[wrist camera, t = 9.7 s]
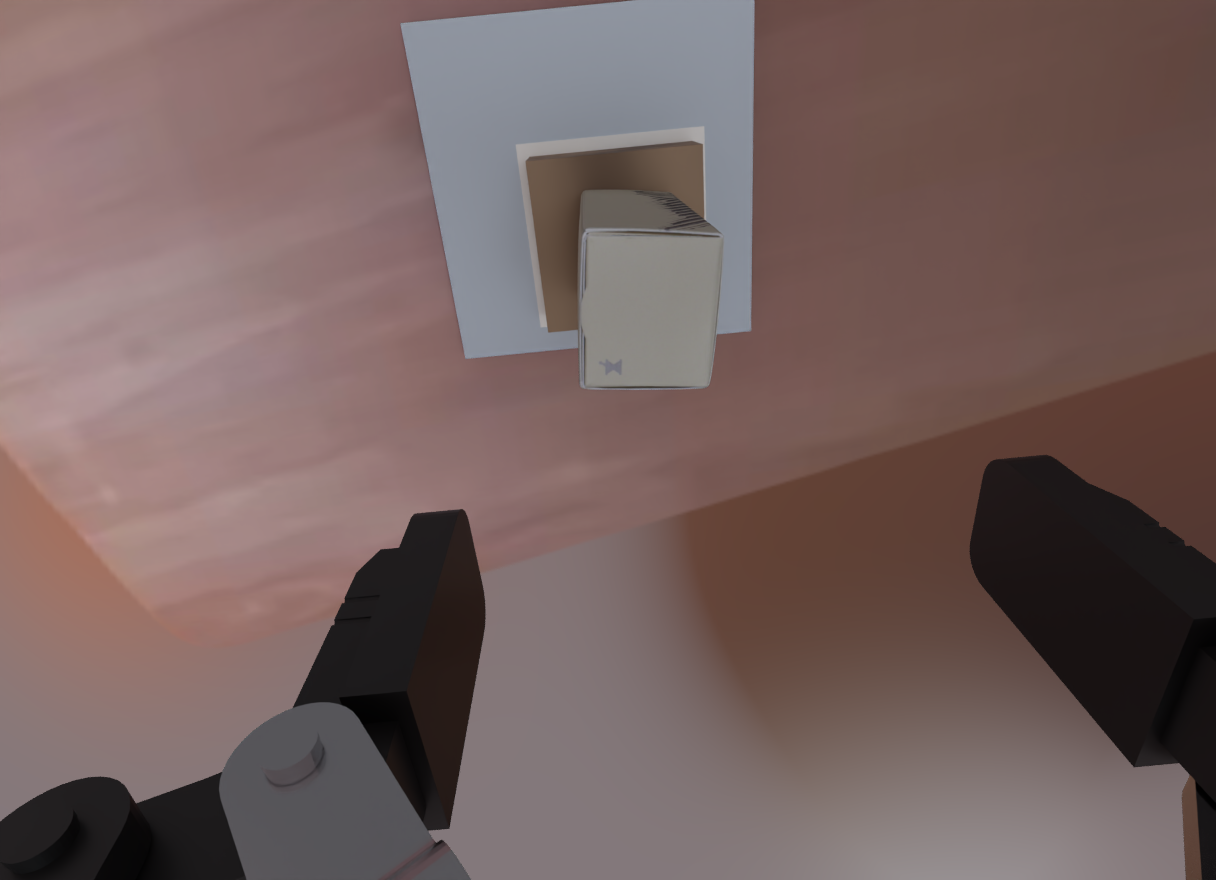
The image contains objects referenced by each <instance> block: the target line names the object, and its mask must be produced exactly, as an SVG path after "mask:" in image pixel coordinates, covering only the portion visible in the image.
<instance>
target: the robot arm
mask: <svg viewBox="0 0 1216 880" xmlns="http://www.w3.org/2000/svg"><path fill="white" fill-rule="evenodd" d="M970 559H971V564H972V568H973V570H974V573H975V575H976V577H977V579H978V581H979V583H980V584H981V585H982V587H983V588H984V589H985V590H986V591H987V593H988V594H989V595H990V596H991V597H992V598H993V600H994V601H995V602H996V603H997V604H998V606H999V607H1000V608H1001V609H1002V610H1003V612H1004V613H1005V614H1006V615H1007V616H1008V618H1009V619H1010V620H1011V621H1012V622H1013V624H1014V625H1015V626H1016V627H1017V628H1018V629H1019V631H1020V632H1021V633H1022V634H1023V635H1024V637H1025V638H1026V639H1027V640H1028V641H1029V643H1030V644H1031V645H1032V646H1033V647H1034V648H1035V650H1036V651H1037V652H1038V653H1039V654H1040V656H1041V657H1042V658H1043V659H1044V661H1046V663H1047V664H1048V665H1049V666H1050V668H1051V669H1052V670H1053V671H1054V672H1055V674H1056V675H1057V676H1058V677H1059V678H1060V680H1061V681H1062V682H1063V683H1064V684H1065V685H1066V687H1067V688H1068V689H1069V690H1070V691H1071V693H1072V694H1073V695H1074V696H1075V697H1076V699H1077V700H1078V701H1079V702H1080V703H1081V704H1082V706H1083V707H1084V708H1085V709H1086V710H1087V712H1088V713H1089V714H1090V715H1091V716H1092V718H1093V719H1094V720H1095V721H1096V723H1097V724H1098V725H1099V726H1100V727H1101V729H1102V730H1103V731H1104V732H1105V733H1106V734H1107V736H1108V737H1109V738H1110V739H1111V740H1112V742H1113V743H1114V744H1115V745H1116V746H1117V748H1118V749H1119V750H1120V751H1121V752H1122V754H1123V755H1124V756H1125V757H1126V758H1127V759H1128V761H1129V762H1130V763H1131V764H1132V765H1133V766H1134V767H1142V766H1153V765H1163V764H1173V763H1180V764H1181V765H1182V767H1183V768H1184V769H1185V770H1186V771H1187V772H1188V773H1189V774H1190V775H1189V778H1188V780H1187V782H1186V784H1185V786H1184V788H1183V791H1182V814H1183V834H1184V855H1185V873H1186V880H1216V563H1214V562H1213V561H1212V560H1210V559H1209V558H1207V557H1206V556H1205V555H1203V554H1202V553H1200V552H1199V551H1197V550H1196V549H1195V548H1194V547H1192V546H1185V544H1184V540H1182V539H1181V538H1180V537H1178V536H1177V535H1175V534H1174V533H1173V532H1171V531H1170V530H1169V529H1167V528H1166V527H1160V526H1159V522H1157V521H1156V520H1155V519H1153V518H1152V517H1150V516H1149V515H1148V514H1146V513H1145V512H1144V511H1142V510H1141V509H1139V508H1138V507H1137V506H1135V505H1134V504H1132V503H1131V502H1130V501H1128V500H1126V499H1123V498H1121V497H1119V496H1117V495H1114V494H1112V493H1110V492H1107V491H1105V490H1103V489H1100V488H1098V487H1096V486H1094V485H1091V484H1089V483H1087V482H1086V481H1085V480H1083V479H1082V478H1080V477H1079V476H1078V475H1076V474H1075V473H1074V472H1072V471H1071V470H1070V469H1068V468H1067V467H1066V466H1064V465H1063V464H1062V463H1060V462H1059V461H1058V460H1056V459H1055V458H1053V457H1051V456H1048V455H1039V456H1028V457H1018V458H1007V459H997V460H993V461H991V462H990V463H989V464H988V465H987V467H986V469H985V471H984V474H983V479H982V484H981V489H980V494H979V500H978V505H977V510H976V515H975V521H974V525H973V530H972V536H971V541H970ZM334 621H335V624H334V625H332V626H331V628H330V630H329V632H328V634H327V636H326V638H325V641H324V643H323V645H322V647H321V649H320V651H319V653H318V655H317V658H316V660H315V662H314V664H313V666H312V668H311V670H310V672H309V675H308V677H307V679H306V681H305V683H304V685H303V687H302V689H301V691H300V694H299V696H298V698H297V700H296V702H295V704H294V706H293V708H292V709H289V710H287V711H284V712H282V713H280V714H278V715H276V716H274V717H273V718H271V719H269V720H268V721H266V722H264V723H263V724H262V725H260V726H259V727H258V728H256V729H255V730H254V731H252V732H251V733H250V734H249V735H248V736H247V737H246V738H245V739H244V740H243V741H242V742H241V743H240V744H239V746H238V747H237V748H236V749H235V750H234V752H233V753H232V755H231V756H230V758H229V759H228V761H227V763H226V765H225V767H224V769H223V772H221V773H219V774H216V775H213V776H211V777H209V778H206V779H204V780H201V781H198V782H195V783H192V784H189V785H186V786H184V787H181V788H178V789H175V790H173V791H170V792H167V793H164V794H161V795H159V796H156V797H153V798H151V799H148V800H145V801H142V802H139V803H135V801H134V800H133V798H132V796H131V795H130V793H129V792H128V790H127V788H126V787H125V785H123V784H122V783H121V782H119V781H118V780H115V779H112V778H108V777H88V778H84V779H79V780H75V781H72V782H68V783H65V784H62V785H60V786H58V787H56V788H53V789H51V790H48V791H46V792H44V793H43V794H41V795H39V796H37V797H35V798H33V799H32V800H30V801H28V802H27V803H25V804H24V805H22V806H21V807H19V808H17V809H16V810H15V811H14V812H12V813H11V814H9V815H8V816H7V817H5V818H4V819H3V820H2V821H0V880H471V879H470V877H469V875H468V874H467V872H466V871H465V870H464V868H463V866H462V864H461V863H460V862H459V860H458V858H457V857H456V855H455V854H454V853H453V851H452V850H451V849H450V847H449V846H448V845H447V844H446V843H445V842H444V841H443V840H440V841H439V842H437V843H436V842H435V841H434V840H433V838H432V837H431V835H430V834H429V832H428V830H440V829H449V827H450V822H451V816H452V810H453V805H454V799H455V794H456V788H457V782H458V777H459V771H460V765H461V760H462V753H463V748H464V742H465V737H466V731H467V726H468V720H469V714H470V709H471V703H472V697H473V692H474V686H475V681H476V675H477V669H478V664H479V658H480V653H481V647H482V641H483V636H484V629H485V598H484V590H483V585H482V580H481V576H480V571H479V566H478V562H477V557H476V552H475V548H474V543H473V539H472V534H471V529H470V525H469V521H468V517H467V515H466V513H465V511H464V510H463V509H459V510H448V511H438V512H427V513H417V514H414V515H413V516H412V517H411V519H410V522H409V524H408V527H407V529H406V532H405V534H404V537H403V539H402V542H401V544H400V547H399V548H392V549H382V550H380V551H379V552H378V553H377V554H376V555H374V556H373V557H372V558H371V559H370V560H369V561H368V562H367V563H366V564H365V565H364V566H363V567H362V568H361V569H360V570H359V571H358V572H357V573H356V575H355V577H354V579H353V581H352V583H351V585H350V588H349V590H348V592H347V594H346V596H345V603H342V605H341V607H340V609H339V611H338V613H337V615H336V617H335V619H334Z"/></svg>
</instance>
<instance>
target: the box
mask: <svg viewBox="0 0 1216 880" xmlns="http://www.w3.org/2000/svg"><path fill="white" fill-rule="evenodd" d="M723 258H724V235H723V234H722V233H721V232H719V231H718V230H717V229H716V228H715V227H714V226H712V225H711V224H710V223H708V222H707V221H706V220H704V219H703V218H702V217H701V216H700V215H698V214H697V213H696V212H694V211H693V210H692V209H691V208H689V207H688V206H687V205H685V204H684V203H683V202H682V201H680V199H678V198H677V197H676V196H674V195H673V194H672V193H671V192H660V191H642V190H585V191H583V192H582V194H581V204H580V219H579V239H578V357H579V385H580V387H581V388H583V389H591V390H664V389H700V388H706V387H708V386H709V384H710V380H711V374H712V367H713V360H714V352H715V344H716V336H717V327H718V319H719V308H720V297H721V285H722V273H723Z"/></svg>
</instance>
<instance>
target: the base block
mask: <svg viewBox="0 0 1216 880" xmlns="http://www.w3.org/2000/svg"><path fill="white" fill-rule="evenodd" d="M525 162H526V170H527V177H528V185H529V192H530V200H531V207H532V215H533V222H534V230H535V238H536V245H537V253H538V260H539V268H540V275H541V283H542V290H543V298H544V305H545V313H546V321H547V328H548V333H550V332H560V331H571V330H578V239H579V219H580V204H581V194H582V192H583V191H585V190H642V191H660V192H671V193H672V194H673V195H674V196H676V197H677V198H678V199H680V201H682V202H683V203H684V204H685V205H687V206H688V207H689V208H691V209H692V210H693V211H694V212H696V213H697V214H698V215H700V216H701V217H702V218H703V219H704V176H703V144H701V143H698V142H695V141H686V142H675V143H665V144H655V145H645V146H634V147H624V148H614V149H604V150H593V151H583V152H573V153H563V154H553V155H542V156H532V157H529V158H528V159H527V160H526V161H525Z"/></svg>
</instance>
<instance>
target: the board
mask: <svg viewBox="0 0 1216 880" xmlns="http://www.w3.org/2000/svg"><path fill="white" fill-rule="evenodd" d="M400 24H401V29H402V34H403V39H404V45H405V50H406V55H407V60H408V65H409V70H410V76H411V81H412V86H413V91H414V96H415V101H416V106H417V112H418V117H419V122H420V127H421V132H422V137H423V142H424V148H425V153H426V158H427V163H428V168H429V173H430V178H431V184H432V189H433V194H434V199H435V204H436V209H437V214H438V220H439V225H440V230H441V235H442V240H443V245H444V250H445V256H446V261H447V266H448V271H449V276H450V281H451V287H452V292H453V297H454V302H455V307H456V312H457V317H458V323H459V328H460V333H461V338H462V343H463V348H464V353H465V359H469V358H479V357H490V356H500V355H510V354H520V353H531V352H541V351H551V350H561V349H572V348H578V330H571V331H560V332H550V333H548V328H547V321H546V313H545V305H544V298H543V290H542V283H541V275H540V268H539V260H538V253H537V245H536V238H535V230H534V222H533V215H532V207H531V200H530V192H529V185H528V177H527V170H526V162H525V161H526V160H527V159H528V158H529V157H532V156H542V155H553V154H563V153H573V152H583V151H593V150H604V149H614V148H624V147H634V146H645V145H655V144H665V143H675V142H686V141H695V142H698V143H701V144H703V176H704V220H706V221H707V222H708V223H710V224H711V225H712V226H714V227H715V228H716V229H717V230H718V231H719V232H721V233H722V234H723V235H724V258H723V273H722V285H721V297H720V308H719V319H718V327H717V334H726V333H736V332H746V331H751V282H752V185H753V88H754V0H634V1H623V2H613V3H603V4H593V5H583V6H572V7H562V8H552V9H542V10H532V11H521V12H511V13H501V14H491V15H480V16H470V17H460V18H450V19H440V20H429V21H419V22H409V23H400Z"/></svg>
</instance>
